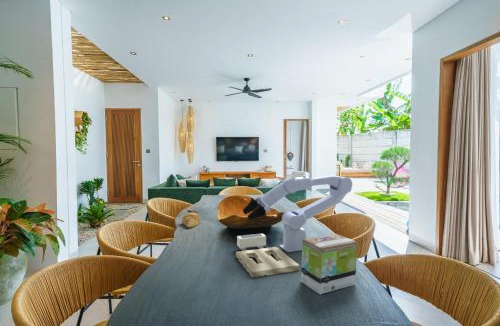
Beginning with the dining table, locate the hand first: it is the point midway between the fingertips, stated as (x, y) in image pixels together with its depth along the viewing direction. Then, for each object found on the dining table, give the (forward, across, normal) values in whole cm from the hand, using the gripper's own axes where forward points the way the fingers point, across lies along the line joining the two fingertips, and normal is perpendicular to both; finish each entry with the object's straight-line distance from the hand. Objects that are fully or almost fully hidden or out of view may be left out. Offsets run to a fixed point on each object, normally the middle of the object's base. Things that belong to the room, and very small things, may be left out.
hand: (246, 215), depth 119 cm
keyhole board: (+4, +15, +14) cm, 21 cm away
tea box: (-8, +36, +21) cm, 42 cm away
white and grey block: (+6, -1, +15) cm, 16 cm away
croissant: (+27, -51, +8) cm, 58 cm away
